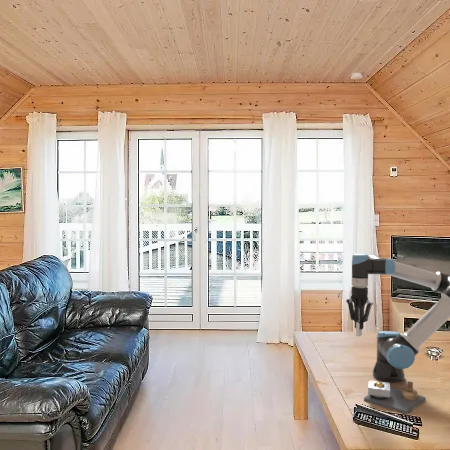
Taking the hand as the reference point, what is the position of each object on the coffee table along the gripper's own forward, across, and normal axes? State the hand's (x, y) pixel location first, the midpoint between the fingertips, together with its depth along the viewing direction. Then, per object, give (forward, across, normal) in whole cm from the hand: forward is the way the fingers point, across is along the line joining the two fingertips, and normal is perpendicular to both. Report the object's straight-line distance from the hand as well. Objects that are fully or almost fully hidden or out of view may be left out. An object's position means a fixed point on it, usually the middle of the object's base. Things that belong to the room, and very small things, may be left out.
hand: (358, 335), depth 217 cm
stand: (+23, +25, +1) cm, 34 cm away
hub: (+23, +14, -7) cm, 28 cm away
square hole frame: (+21, +14, -7) cm, 26 cm away
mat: (+24, +20, -3) cm, 31 cm away
